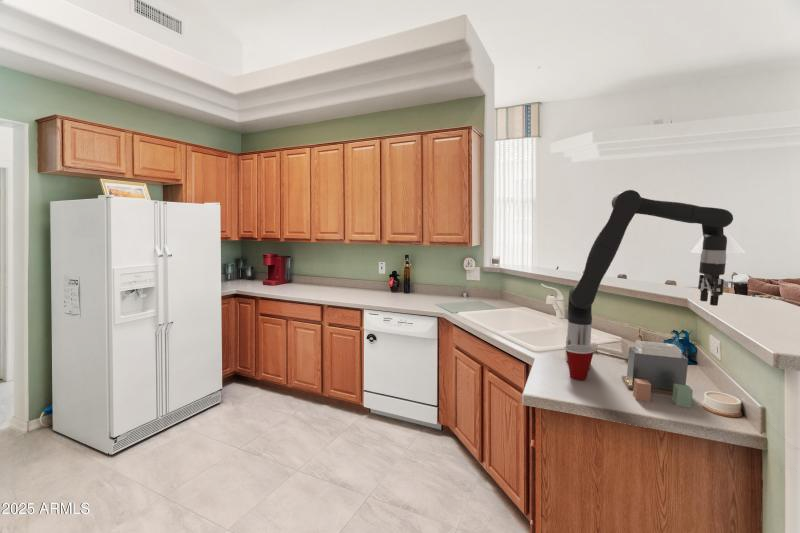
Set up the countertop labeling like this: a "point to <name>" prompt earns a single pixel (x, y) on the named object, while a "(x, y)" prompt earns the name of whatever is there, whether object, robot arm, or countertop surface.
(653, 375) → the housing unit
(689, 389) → the sage block
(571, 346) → the plastic cup
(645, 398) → the rust block
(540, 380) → the countertop surface
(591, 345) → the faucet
